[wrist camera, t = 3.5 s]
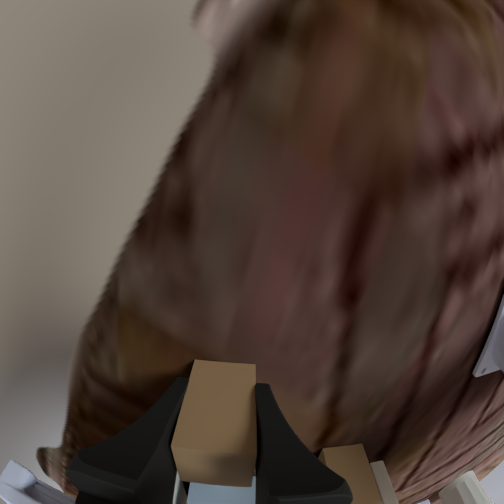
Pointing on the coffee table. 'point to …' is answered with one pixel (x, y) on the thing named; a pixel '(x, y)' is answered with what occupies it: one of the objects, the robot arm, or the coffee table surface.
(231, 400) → the tan and blue dumbbell
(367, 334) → the coffee table surface
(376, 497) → the tan block
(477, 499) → the cup
